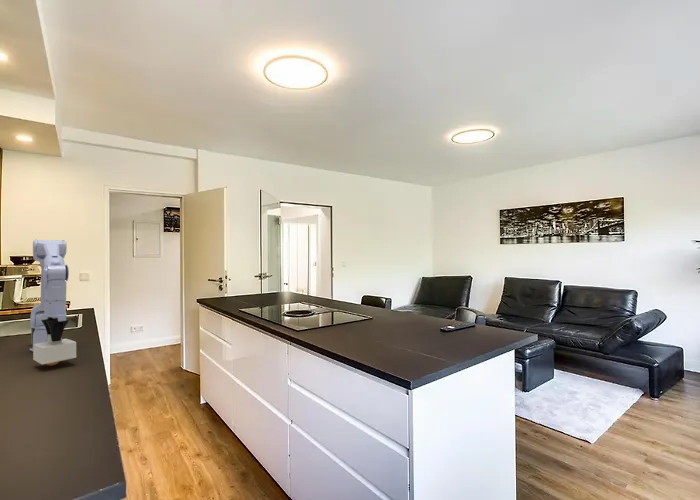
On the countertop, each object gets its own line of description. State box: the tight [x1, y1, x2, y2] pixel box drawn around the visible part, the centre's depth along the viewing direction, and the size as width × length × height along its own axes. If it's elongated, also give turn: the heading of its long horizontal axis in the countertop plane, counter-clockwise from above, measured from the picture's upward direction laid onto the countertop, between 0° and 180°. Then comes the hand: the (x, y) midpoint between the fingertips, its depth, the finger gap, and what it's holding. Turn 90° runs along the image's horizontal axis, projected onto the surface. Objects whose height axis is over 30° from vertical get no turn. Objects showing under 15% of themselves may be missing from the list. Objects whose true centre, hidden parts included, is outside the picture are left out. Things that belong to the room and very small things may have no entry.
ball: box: [46, 361, 60, 367], centre depth 122 cm, size 4×4×4 cm
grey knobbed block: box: [32, 334, 77, 365], centre depth 122 cm, size 9×9×8 cm
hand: (54, 340), depth 121 cm, fingers closed on grey knobbed block, 3 cm apart
